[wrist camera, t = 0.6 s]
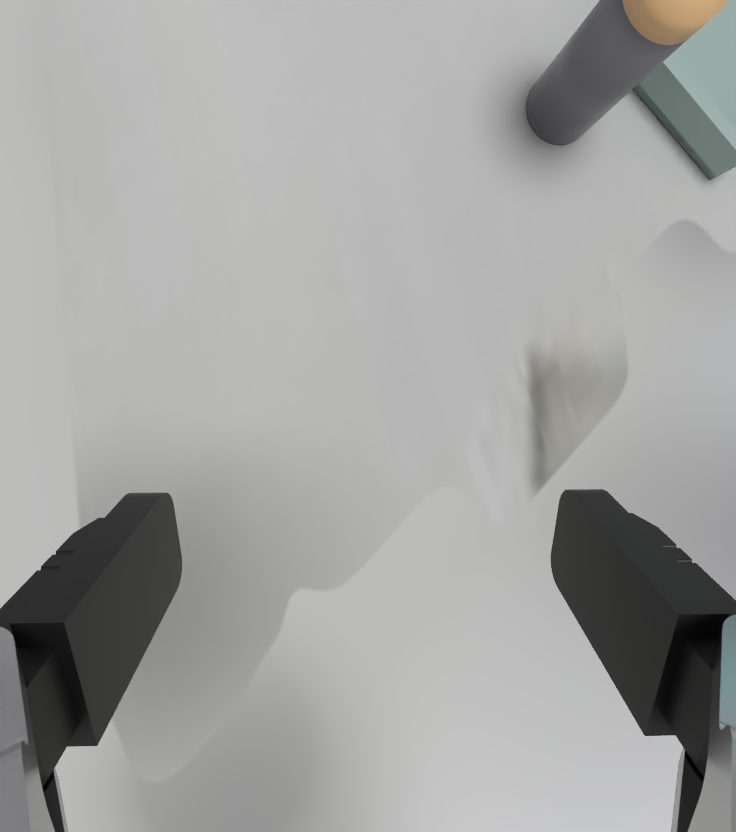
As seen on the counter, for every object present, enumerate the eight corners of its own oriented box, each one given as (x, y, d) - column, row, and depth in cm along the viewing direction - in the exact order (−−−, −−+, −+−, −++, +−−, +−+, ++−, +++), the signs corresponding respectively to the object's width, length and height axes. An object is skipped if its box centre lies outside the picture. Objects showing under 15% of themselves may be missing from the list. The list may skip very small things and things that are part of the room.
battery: (522, 76, 35) (651, -103, 22) (586, 73, 36) (745, -102, 23) (530, 147, 35) (660, 10, 23) (592, 143, 36) (753, 8, 23)
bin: (590, 39, 35) (617, 7, 33) (709, -89, 36) (746, -132, 33) (710, 179, 37) (745, 161, 35) (819, 54, 38) (863, 26, 35)
